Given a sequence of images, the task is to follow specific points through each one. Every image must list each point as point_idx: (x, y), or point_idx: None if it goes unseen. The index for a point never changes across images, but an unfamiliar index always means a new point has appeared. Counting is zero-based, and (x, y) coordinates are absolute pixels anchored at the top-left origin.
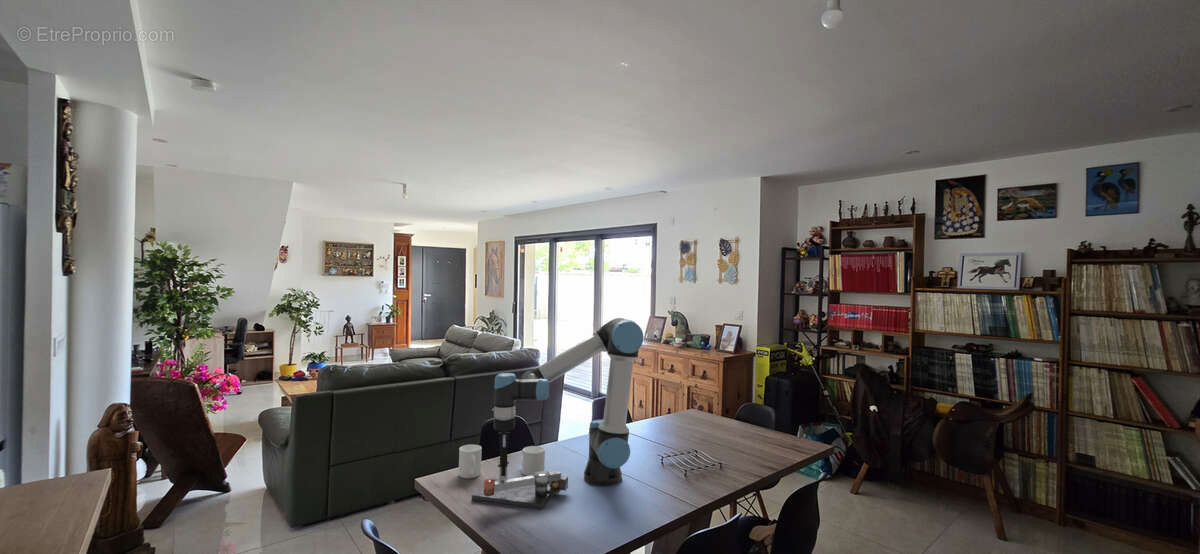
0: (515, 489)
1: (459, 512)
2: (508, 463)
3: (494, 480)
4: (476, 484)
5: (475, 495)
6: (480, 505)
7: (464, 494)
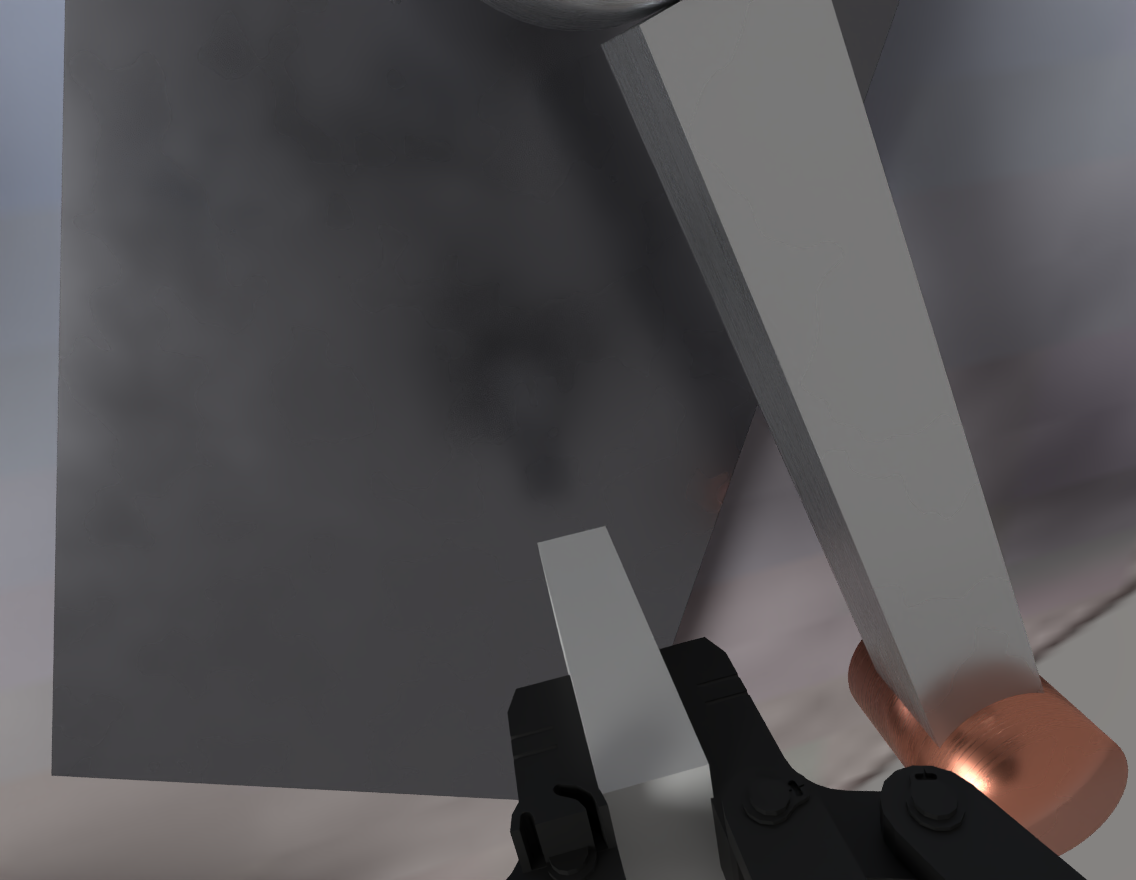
0: (406, 373)
1: (837, 763)
2: (587, 790)
3: (1048, 743)
4: (168, 849)
5: None
6: None
7: (456, 857)
